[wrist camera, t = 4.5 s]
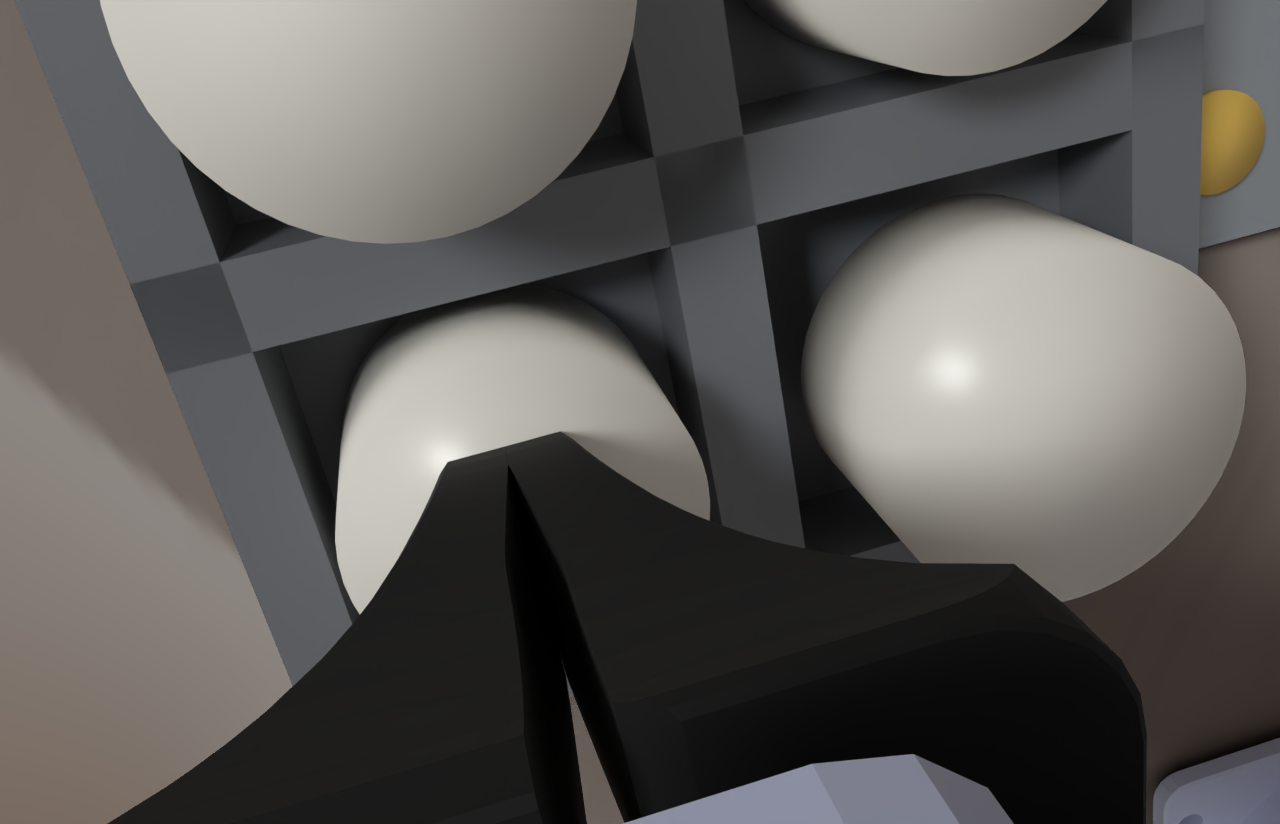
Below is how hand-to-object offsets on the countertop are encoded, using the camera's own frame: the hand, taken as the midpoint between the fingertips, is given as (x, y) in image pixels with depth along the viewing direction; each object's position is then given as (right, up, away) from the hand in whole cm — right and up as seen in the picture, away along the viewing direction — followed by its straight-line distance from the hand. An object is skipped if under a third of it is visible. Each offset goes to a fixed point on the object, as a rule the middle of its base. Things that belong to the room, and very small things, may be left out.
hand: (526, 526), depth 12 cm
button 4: (-1, +5, -1) cm, 6 cm away
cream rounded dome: (+5, +2, +2) cm, 6 cm away
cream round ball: (-1, +1, +2) cm, 2 cm away
